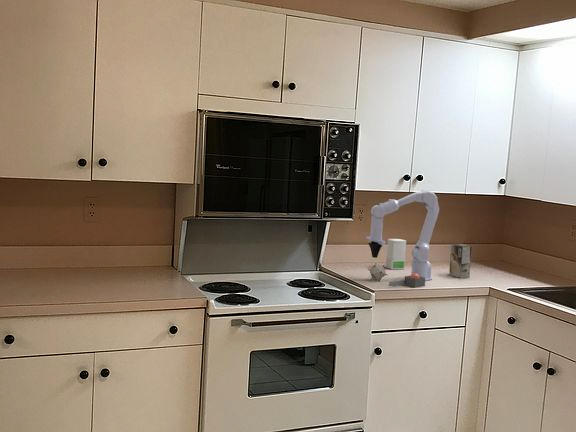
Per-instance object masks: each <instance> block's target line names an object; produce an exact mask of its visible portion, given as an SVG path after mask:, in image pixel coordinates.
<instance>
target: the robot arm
mask: <svg viewBox="0 0 576 432" xmlns="http://www.w3.org/2000/svg"><path fill="white" fill-rule="evenodd" d="M413 202H416V203H421V204H423V205H424V207H425V208H426V210H427V213H426V217H425V218H424V222H423V225H422V229H421V233H420V235H419V238H418V241H417V242H416V244H415V245H414V246H415V247H414V248H412V250H411V256H412V257H413V258H412V260H411V261H412V262H411V274H410V276H411V275H412V274H413V273H417V274H418V275H419V276H421V277H424V278H425V281H431V280H432V277H431V275H432V264H431V262H429V261H428V259H429V257H430V255H429V251H430V241H431V238H432V235H433V231H434V228H435V226H436V222H437V220H438V217H439V213H440V205H439V202H438V196H437V195H436V194H435V192H433V191H429V190H428V189H422V190H421V191H419V190H418V191H416V192H413V193H411V194H409V195H406V196H404V197H402V198H399V199H398V200H396V199H393V198H392V199H391V198H389V199H388V200H387V201H385V202H380V203H379V205H378V204H377V205H373V206H372V207H371V209H370V214H371V219H370V232H369V233H370V235H369V236H366V238H365V239H366V242H368V246H369V248H370V251H371V257H372V258H378V256H379V254H380V251H381V249H382V247H383V246H386V244H387V243H386V242H387V241H386V240H384V239H383V227H384V221H383V220H384V217H385V216H386V215H388V214H391V213H394V212H396V211H398V210H399V209H400V207H402V206H405V205H407V204H411V203H413Z"/></svg>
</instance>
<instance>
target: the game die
mask: <svg viewBox="0 0 576 432" xmlns="http://www.w3.org/2000/svg"><path fill="white" fill-rule="evenodd" d="M367 270H368V271H369V273H370V274H369V275H370V276H371V279H370V280H373V279H374V280H378V282H380V280H382V278H384V277H385V276H388V274H387V273H386V270H385V264H383V265H380V264H377V262H375V263H374V265H373V266H372V267H371V268H368V269H367Z"/></svg>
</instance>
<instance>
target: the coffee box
mask: <svg viewBox="0 0 576 432" xmlns="http://www.w3.org/2000/svg"><path fill="white" fill-rule="evenodd" d="M449 256H450V257H449V270H448V271H449V272H448V273H449V276H452V277H453V276H454V277H456V278H459V279H463V278H466V279H467V278H470V276H471V260H472V246H471V245H468V244H467V245H466V244H464V243H463V244H462V243H451V244H450V255H449Z"/></svg>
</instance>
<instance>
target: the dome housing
mask: <svg viewBox="0 0 576 432" xmlns="http://www.w3.org/2000/svg"><path fill="white" fill-rule="evenodd" d="M410 276H411V275H405V276H404V280H405V281H404V284H405V285H406V286H408V287H411V286H412V287H411V288H421V287H426V280H425V278H424V277H421V276H420V278H418V279H414V278H411V277H410ZM405 285H404V286H405Z"/></svg>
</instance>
